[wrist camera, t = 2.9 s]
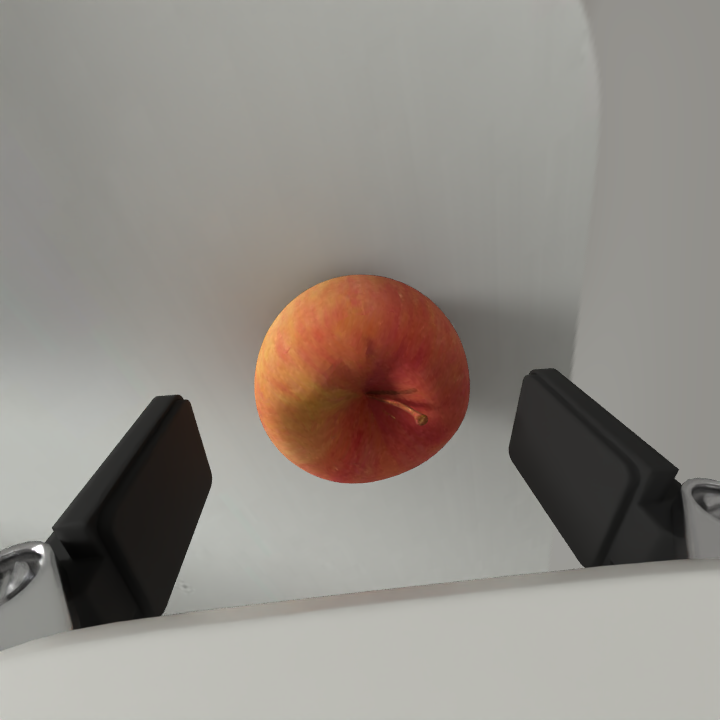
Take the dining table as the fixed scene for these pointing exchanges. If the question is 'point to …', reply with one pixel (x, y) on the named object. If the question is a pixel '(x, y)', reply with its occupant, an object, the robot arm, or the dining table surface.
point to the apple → (361, 379)
